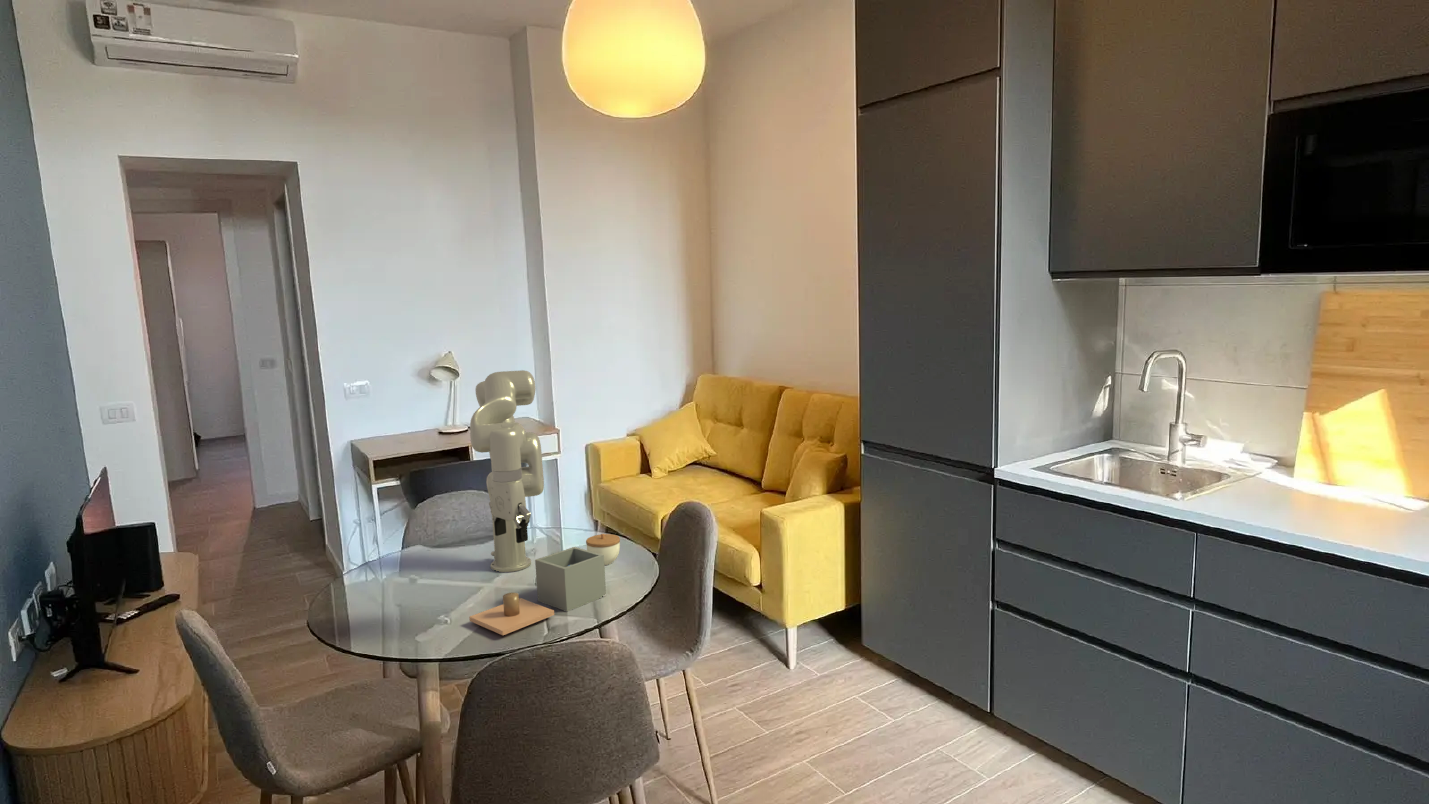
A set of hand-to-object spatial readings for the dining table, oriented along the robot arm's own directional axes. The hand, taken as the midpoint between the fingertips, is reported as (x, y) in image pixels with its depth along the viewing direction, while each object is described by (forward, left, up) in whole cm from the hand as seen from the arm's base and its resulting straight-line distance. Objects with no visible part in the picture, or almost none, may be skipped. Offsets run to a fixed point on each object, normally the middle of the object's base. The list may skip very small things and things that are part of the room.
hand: (511, 538), depth 211 cm
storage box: (+2, +17, -22) cm, 28 cm away
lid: (+2, -3, -22) cm, 22 cm away
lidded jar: (-14, +43, -22) cm, 50 cm away
